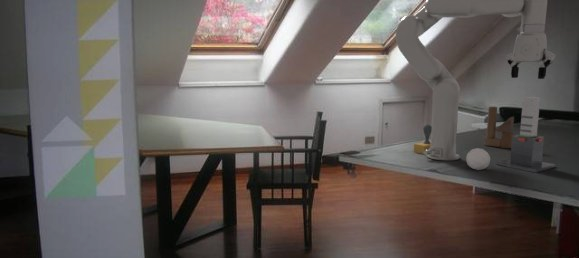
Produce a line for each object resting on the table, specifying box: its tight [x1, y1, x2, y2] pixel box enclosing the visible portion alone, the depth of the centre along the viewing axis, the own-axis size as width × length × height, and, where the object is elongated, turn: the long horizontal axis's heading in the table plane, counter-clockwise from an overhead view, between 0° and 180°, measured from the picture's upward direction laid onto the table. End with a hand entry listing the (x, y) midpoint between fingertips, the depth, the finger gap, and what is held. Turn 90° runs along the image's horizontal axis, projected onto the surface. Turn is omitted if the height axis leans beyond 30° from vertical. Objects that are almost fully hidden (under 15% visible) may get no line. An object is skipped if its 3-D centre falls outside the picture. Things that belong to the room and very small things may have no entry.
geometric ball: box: [465, 147, 491, 171], centre depth 149 cm, size 8×8×8 cm
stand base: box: [496, 134, 556, 173], centre depth 154 cm, size 14×14×11 cm
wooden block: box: [483, 105, 515, 149], centre depth 189 cm, size 4×11×18 cm, turn 43°
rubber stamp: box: [413, 124, 432, 155], centre depth 179 cm, size 10×6×12 cm, turn 123°
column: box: [519, 96, 541, 138], centre depth 152 cm, size 5×4×18 cm
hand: (527, 78), depth 153 cm, fingers open, 9 cm apart
